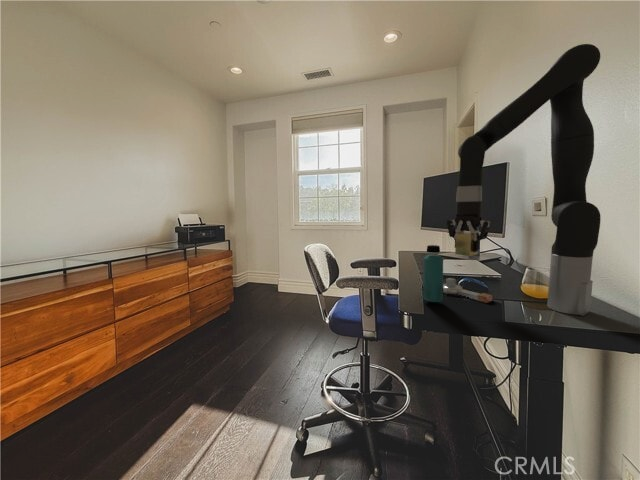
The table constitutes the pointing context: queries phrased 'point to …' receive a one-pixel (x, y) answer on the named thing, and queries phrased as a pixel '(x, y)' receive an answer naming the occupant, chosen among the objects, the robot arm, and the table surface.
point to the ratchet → (464, 291)
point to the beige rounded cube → (464, 244)
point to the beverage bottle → (433, 275)
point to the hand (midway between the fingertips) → (466, 250)
